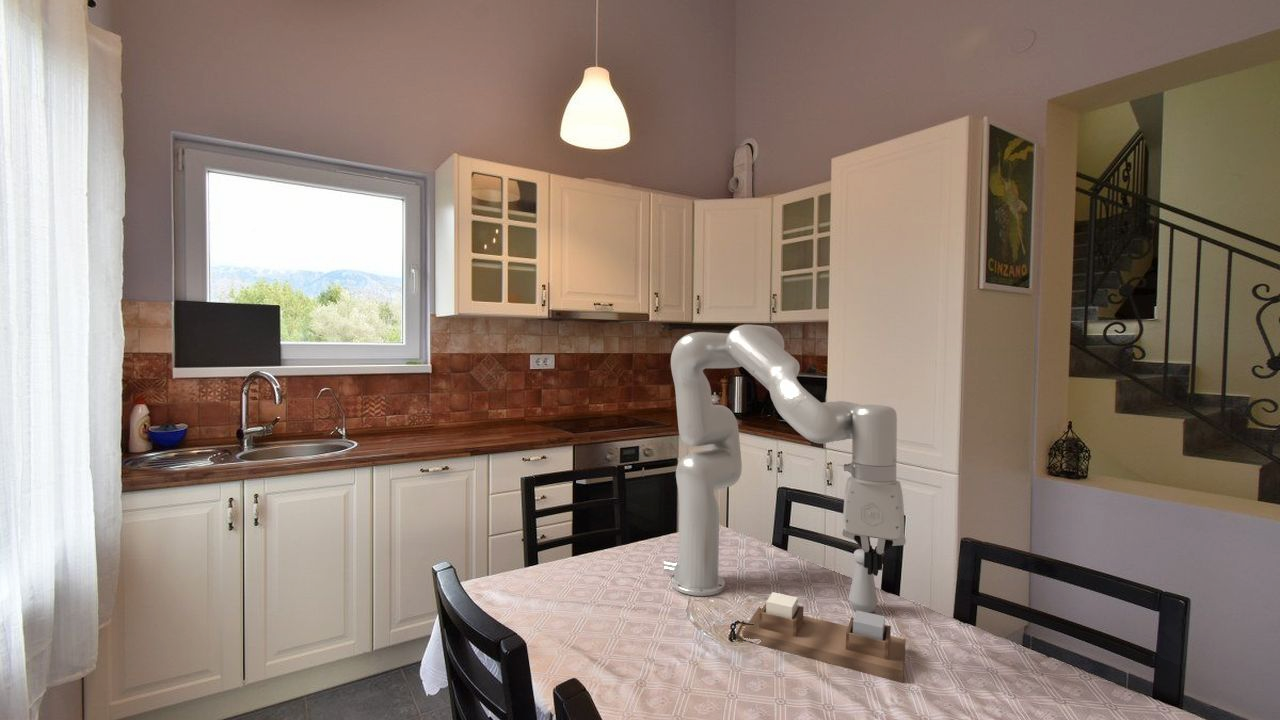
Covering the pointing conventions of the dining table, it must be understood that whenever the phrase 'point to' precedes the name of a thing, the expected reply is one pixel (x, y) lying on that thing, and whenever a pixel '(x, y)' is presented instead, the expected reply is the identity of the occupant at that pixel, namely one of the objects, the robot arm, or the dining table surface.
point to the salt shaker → (862, 586)
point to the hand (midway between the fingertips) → (873, 572)
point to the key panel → (829, 643)
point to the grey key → (869, 625)
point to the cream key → (782, 605)
